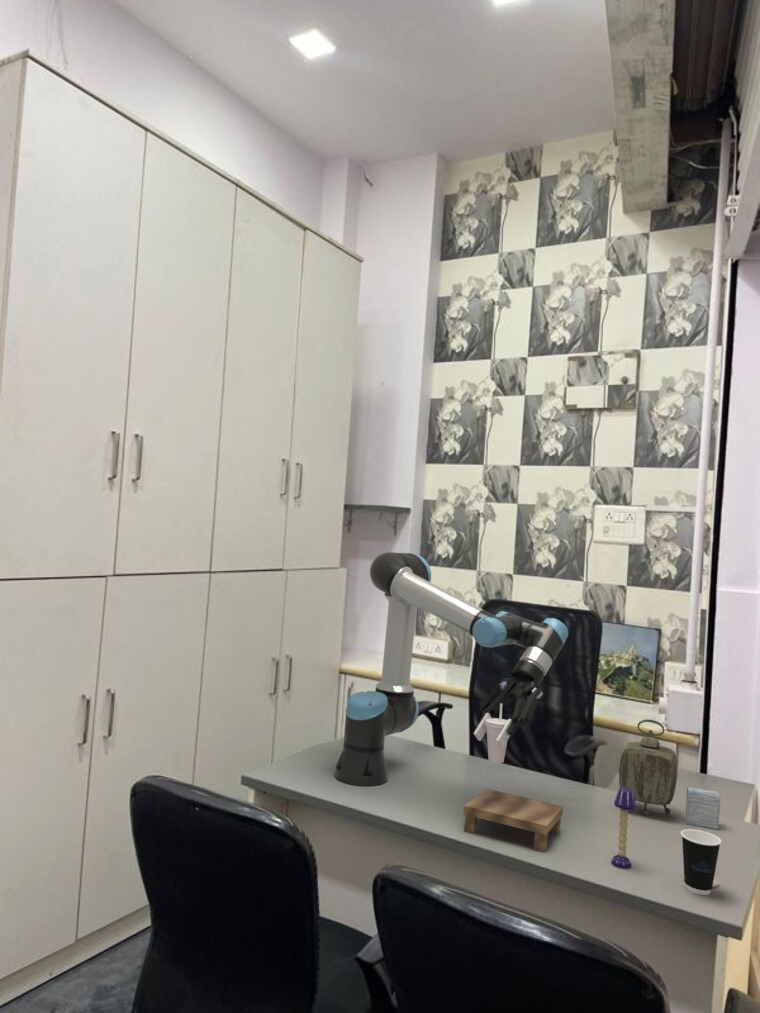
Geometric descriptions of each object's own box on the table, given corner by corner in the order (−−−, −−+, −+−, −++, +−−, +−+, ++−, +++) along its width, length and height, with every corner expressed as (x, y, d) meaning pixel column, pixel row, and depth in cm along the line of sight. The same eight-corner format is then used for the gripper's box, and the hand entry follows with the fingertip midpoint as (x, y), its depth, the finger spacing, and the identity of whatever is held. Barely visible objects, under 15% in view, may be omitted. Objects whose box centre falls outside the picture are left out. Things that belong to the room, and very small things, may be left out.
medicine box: (717, 825, 197) (719, 791, 198) (718, 830, 193) (720, 796, 193) (685, 819, 200) (686, 786, 200) (686, 824, 195) (688, 791, 196)
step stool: (462, 830, 178) (464, 805, 179) (484, 812, 192) (485, 788, 193) (544, 852, 169) (546, 826, 169) (561, 831, 183) (563, 806, 184)
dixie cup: (697, 900, 151) (700, 845, 152) (669, 882, 159) (672, 830, 159) (727, 896, 154) (730, 842, 155) (698, 879, 161) (701, 828, 162)
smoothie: (508, 765, 179) (511, 707, 180) (482, 762, 181) (485, 704, 182) (509, 758, 186) (512, 702, 187) (483, 755, 187) (486, 699, 188)
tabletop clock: (675, 814, 203) (680, 721, 204) (673, 824, 195) (678, 728, 196) (619, 802, 209) (625, 712, 210) (615, 812, 201) (621, 718, 202)
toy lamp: (607, 859, 168) (612, 784, 169) (627, 860, 169) (631, 785, 170) (615, 868, 164) (620, 791, 165) (636, 869, 164) (640, 792, 165)
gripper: (568, 685, 188) (526, 760, 176) (507, 672, 202) (464, 740, 190) (557, 665, 184) (514, 740, 172) (496, 653, 199) (451, 722, 187)
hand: (488, 740), depth 181 cm, fingers closed on smoothie, 6 cm apart
